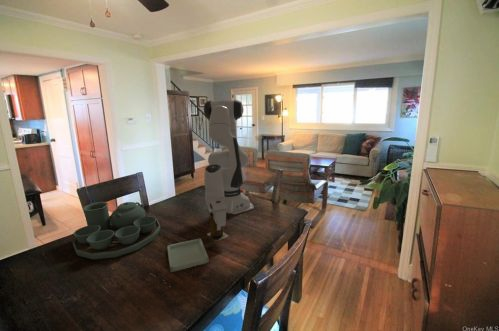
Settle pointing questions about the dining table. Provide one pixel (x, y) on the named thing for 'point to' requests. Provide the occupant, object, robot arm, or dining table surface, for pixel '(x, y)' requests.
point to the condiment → (215, 230)
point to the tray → (186, 254)
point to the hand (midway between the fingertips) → (216, 225)
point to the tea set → (114, 230)
